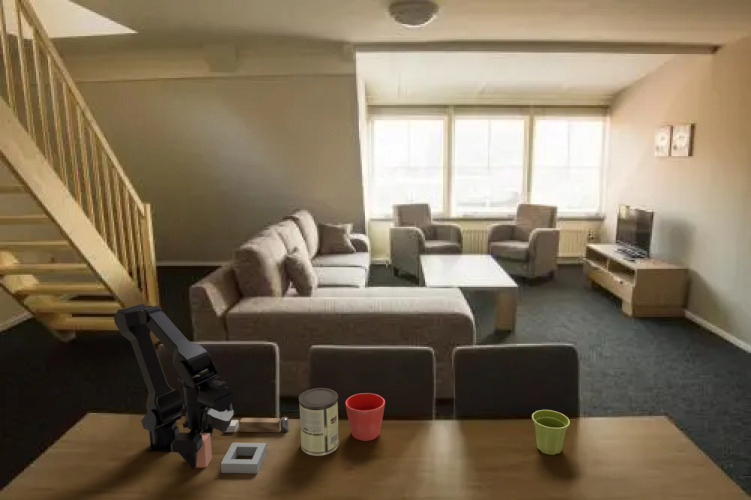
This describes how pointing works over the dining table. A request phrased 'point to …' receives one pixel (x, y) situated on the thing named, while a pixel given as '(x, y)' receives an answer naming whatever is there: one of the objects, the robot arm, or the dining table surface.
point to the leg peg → (204, 451)
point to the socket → (244, 465)
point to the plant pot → (550, 430)
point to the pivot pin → (284, 424)
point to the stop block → (233, 426)
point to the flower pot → (365, 415)
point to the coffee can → (319, 421)
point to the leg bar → (259, 424)
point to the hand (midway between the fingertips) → (200, 457)
